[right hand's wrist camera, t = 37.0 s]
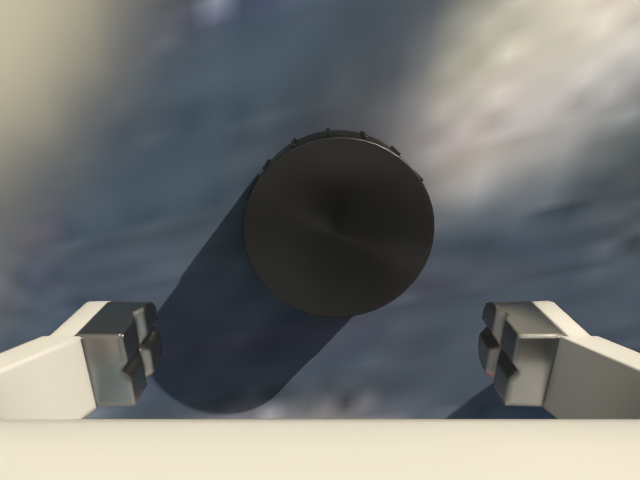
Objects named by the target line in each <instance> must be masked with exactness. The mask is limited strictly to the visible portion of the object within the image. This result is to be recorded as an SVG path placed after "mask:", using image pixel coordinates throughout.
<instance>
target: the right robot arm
mask: <svg viewBox="0 0 640 480" xmlns="http://www.w3.org/2000/svg"><path fill="white" fill-rule="evenodd" d="M157 319H158V316H157V311H156V306H155V305H154V304H153V303H152V302H117V301H112V302H111V301H92V302H87V303H85V304H84V305H83V306H82V307H81V308H80V309H79V310H78V311H77V312H75V313H74V314H73V315H72V316H71V317H70V318H69V319H68V320H67V321H66V322H64V323H63V324H62V325H61V326H60V327H59V328H58V329H57V330H56V331H55V332H53V333H52V334H51V335H50V336H42V337H39V338H37V339H34V340H32V341H29V342H27V343H24V344H22V345H19V346H17V347H14V348H12V349H9V350H7V351H4V352H2V353H0V480H640V353H638V352H635V351H633V350H631V349H628V348H626V347H623V346H621V345H618V344H616V343H613V342H611V341H608V340H606V339H603V338H601V337H598V336H590V335H589V334H588V333H587V332H586V331H584V330H583V329H582V328H581V327H580V326H579V325H578V324H577V323H576V322H575V321H573V320H572V319H571V318H570V317H569V316H568V315H567V314H566V313H565V312H564V311H562V310H561V309H560V308H559V307H558V306H557V305H556V304H555V303H554V302H550V301H534V302H531V301H522V302H490V303H486V305H485V307H484V310H483V316H482V319H483V321H484V322H485V324H486V325H487V327H486V328H485V329H484V330H483V331H482V332H481V333H480V335H479V344H478V349H479V358H480V361H481V364H482V367H483V368H484V370H485V372H486V373H488V374H489V375H491V376H492V377H494V383H493V386H494V387H495V389H496V391H497V392H498V394H499V396H500V398H501V399H502V401H503V403H504V404H505V406H542V407H543V408H544V409H545V410H546V411H548V412H549V413H551V414H552V415H553V416H555V417H556V418H557V419H83V418H84V417H86V416H87V415H88V414H90V413H91V412H92V411H94V410H95V409H96V407H98V406H133V405H135V404H136V403H137V401H138V399H139V398H140V396H141V394H142V392H143V391H144V389H145V387H146V386H147V383H146V377H148V376H149V375H151V374H152V373H154V372H155V370H156V368H157V366H158V365H159V361H160V357H161V351H162V342H161V335H160V333H159V332H158V331H157V330H156V329H155V328H154V327H153V325H154V324H155V322H156V321H157Z"/></svg>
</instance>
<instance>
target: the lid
mask: <svg viewBox="0 0 640 480" xmlns="http://www.w3.org/2000/svg"><path fill="white" fill-rule="evenodd" d="M400 154H401V153H400V152H399V151H398V150H396V149H395V148H394V147H393V146H391V147H389V146H387V145H385V144H384V143H382V142H381V141H379V140H377V139H375V138H372V137H370V136H367V135H366V134H365V132H364V131H361V132H360V133H357V132H351V131H335V130H333V131H330V129H329V128H327V129H326V131H325V132H319V133H315V134H311V135H308V136H306V137H303V138H301V139H298V140H297V139H296V138H295V139H293V140H292V143H291V144H290V145H288V146H287V147H285V148H284V149H283V150H281V151H280V152H279V153H278V154H277V155H276V156H275V157H274V158H273V159H272V160H269V159H268V161H267V162H266V163H265V165H264V166H263V168H262V169H263V172H262V173H261V175H260V177H259V178H258V180H257V181H256V183H255V185H254V187H253V188H252V189H251V191H250V192H249V194H248V195H247V197H246V200H247V203H246V207H245V211H244V217H243V240H244V245H245V250H246V253H247V256H248V259H249V262H250V264H251V266H252V268H253V270H254V272H255V273H256V275H257V276H258V278H259V279H260V281H261V282H262V283H263V284H264V285H265V286H266V287H267V289H268V290H269V291H271V292H272V293H273V294H274V295H275V296H276V297H278V298H279V299H281V300H282V301H283V302H285V303H286V304H288V305H290V306H292V307H294V308H296V309H299V310H301V311H304V312H307V313H310V314H314V315H318V316H326V317H348V316H355V315H360V314H364V313H367V312H370V311H373V310H376V309H378V308H380V307H382V306H384V305H386V304H388V303H389V302H391V301H393V300H394V299H396V298H397V297H398V296H400V295H401V294H402V293H403V292H404V291H405V290H406V289H407V288H408V287H409V286H410V285H411V284H412V283H413V282H414V281H415V279H416V278H417V277H418V275H419V274H420V272H421V271H422V269H423V267H424V265H425V263H426V261H427V259H428V256H429V254H430V250H431V247H432V243H433V236H434V215H433V208H432V204H431V201H430V198H429V195H428V193H427V190H426V188H425V186H424V184H423V182H422V181H423V179H422V178H421V177H420V176H419V175H418V174H417V173H416V172H415V171H414V170H413V169H412V168H411V167H410V166H409V164H408V163H407V162H406V161H405V160H403V159H402V158H401V157H400V156H399V155H400Z"/></svg>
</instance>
